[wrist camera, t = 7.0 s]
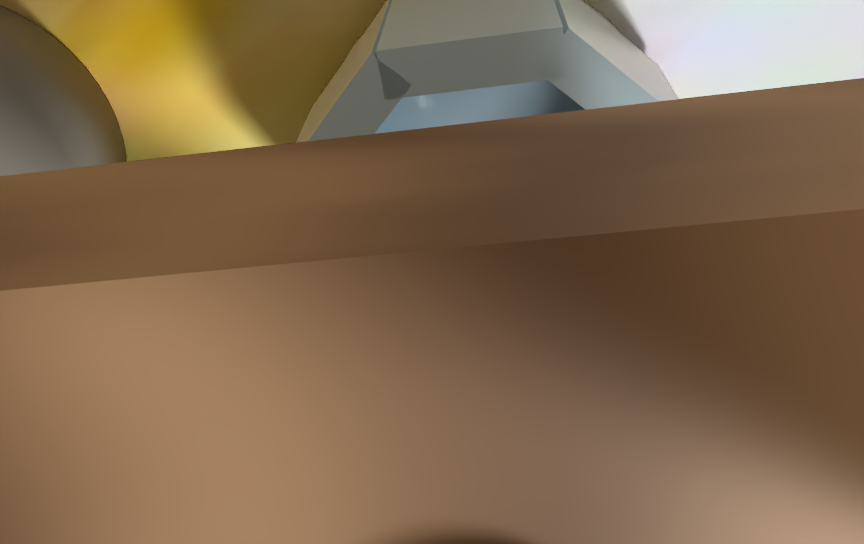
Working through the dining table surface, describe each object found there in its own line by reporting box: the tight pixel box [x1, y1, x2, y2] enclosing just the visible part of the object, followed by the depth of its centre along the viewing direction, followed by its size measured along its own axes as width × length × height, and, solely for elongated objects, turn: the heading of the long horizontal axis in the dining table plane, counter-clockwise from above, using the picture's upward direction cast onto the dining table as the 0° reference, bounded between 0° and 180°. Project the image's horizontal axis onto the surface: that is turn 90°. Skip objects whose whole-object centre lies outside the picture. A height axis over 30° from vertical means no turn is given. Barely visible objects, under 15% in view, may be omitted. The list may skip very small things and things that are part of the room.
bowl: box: [296, 0, 679, 143], centre depth 20 cm, size 9×9×5 cm
